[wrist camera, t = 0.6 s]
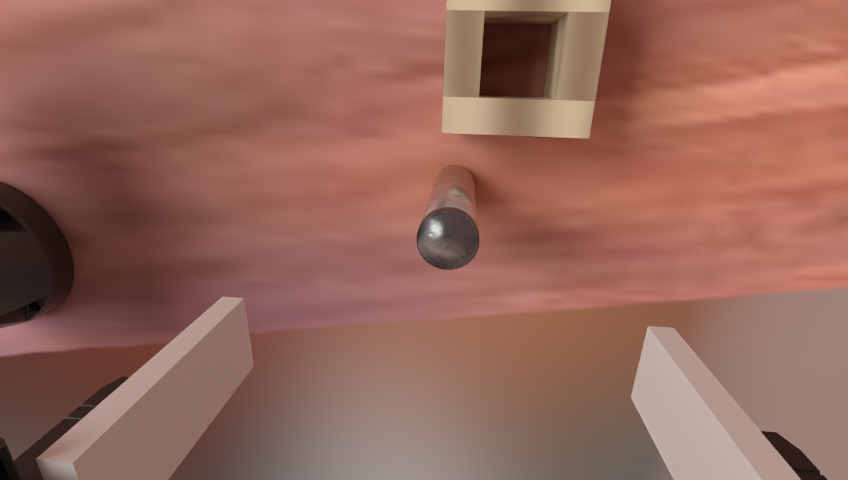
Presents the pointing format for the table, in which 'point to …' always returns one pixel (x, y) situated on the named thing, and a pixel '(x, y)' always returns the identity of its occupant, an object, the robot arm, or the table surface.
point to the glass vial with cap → (450, 221)
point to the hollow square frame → (565, 72)
